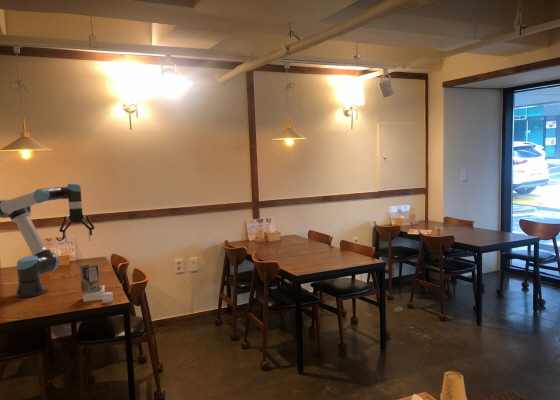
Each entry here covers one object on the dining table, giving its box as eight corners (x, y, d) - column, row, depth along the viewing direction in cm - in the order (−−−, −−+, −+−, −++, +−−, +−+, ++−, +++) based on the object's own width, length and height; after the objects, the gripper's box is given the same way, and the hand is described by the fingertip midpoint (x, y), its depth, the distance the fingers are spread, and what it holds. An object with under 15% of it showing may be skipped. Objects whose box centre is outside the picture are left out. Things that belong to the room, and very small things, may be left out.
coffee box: (100, 291, 260) (98, 265, 259) (90, 294, 255) (88, 268, 253) (91, 289, 265) (89, 264, 264) (81, 292, 260) (79, 266, 258)
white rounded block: (102, 303, 247) (101, 295, 247) (102, 301, 253) (102, 292, 252) (112, 302, 249) (112, 294, 249) (113, 299, 254) (112, 291, 254)
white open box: (83, 301, 252) (82, 293, 252) (85, 295, 265) (85, 287, 265) (103, 299, 256) (103, 291, 255) (105, 292, 269) (104, 285, 268)
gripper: (52, 210, 264) (55, 244, 266) (96, 207, 272) (98, 240, 274) (54, 208, 271) (57, 242, 273) (97, 206, 279) (99, 238, 281)
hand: (78, 241), depth 274 cm, fingers open, 13 cm apart
